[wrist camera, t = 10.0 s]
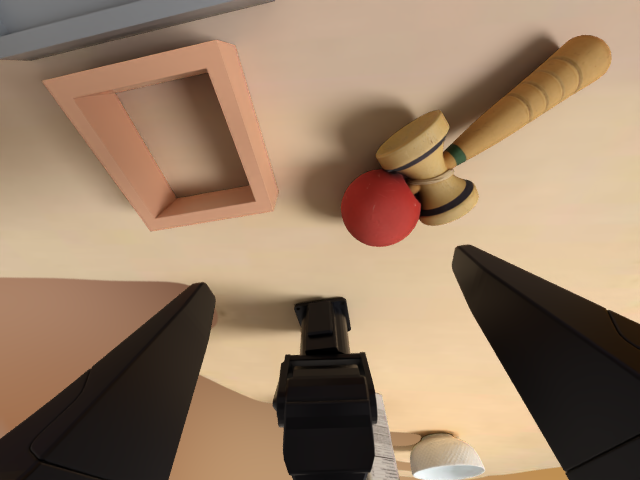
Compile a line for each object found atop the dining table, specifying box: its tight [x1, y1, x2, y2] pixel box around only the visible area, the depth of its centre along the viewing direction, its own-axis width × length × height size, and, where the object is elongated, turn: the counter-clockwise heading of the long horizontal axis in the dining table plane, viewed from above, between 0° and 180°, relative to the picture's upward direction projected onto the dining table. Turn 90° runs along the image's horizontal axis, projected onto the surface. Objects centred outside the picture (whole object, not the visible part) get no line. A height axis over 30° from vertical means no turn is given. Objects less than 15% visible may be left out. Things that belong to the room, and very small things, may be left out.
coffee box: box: [366, 393, 400, 480], centre depth 40 cm, size 9×6×16 cm
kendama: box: [341, 35, 611, 247], centre depth 17 cm, size 8×6×18 cm
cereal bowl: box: [410, 433, 485, 480], centre depth 60 cm, size 17×17×7 cm
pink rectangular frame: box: [42, 40, 279, 231], centre depth 17 cm, size 10×10×4 cm
